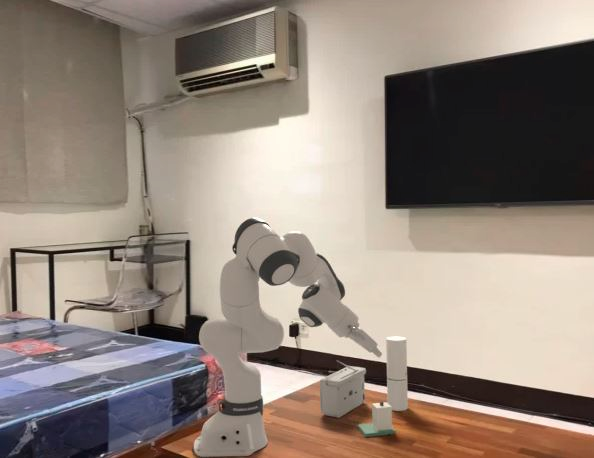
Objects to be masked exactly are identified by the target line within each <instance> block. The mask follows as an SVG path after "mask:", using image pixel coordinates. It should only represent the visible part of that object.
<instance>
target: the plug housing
mask: <svg viewBox="0 0 594 458" xmlns="http://www.w3.org/2000/svg"><path fill="white" fill-rule="evenodd" d="M392 412H393V410H392V407H391V406H390V405H389V404H388V401H386V402H384V401H382V400H381V401H379V402H375V403H374V402H373V403H371V418H372V419H371V423H372V425H373V426H374V427H375V428H376V429H377V430H383V429H392V427H393V413H392Z"/></svg>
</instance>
